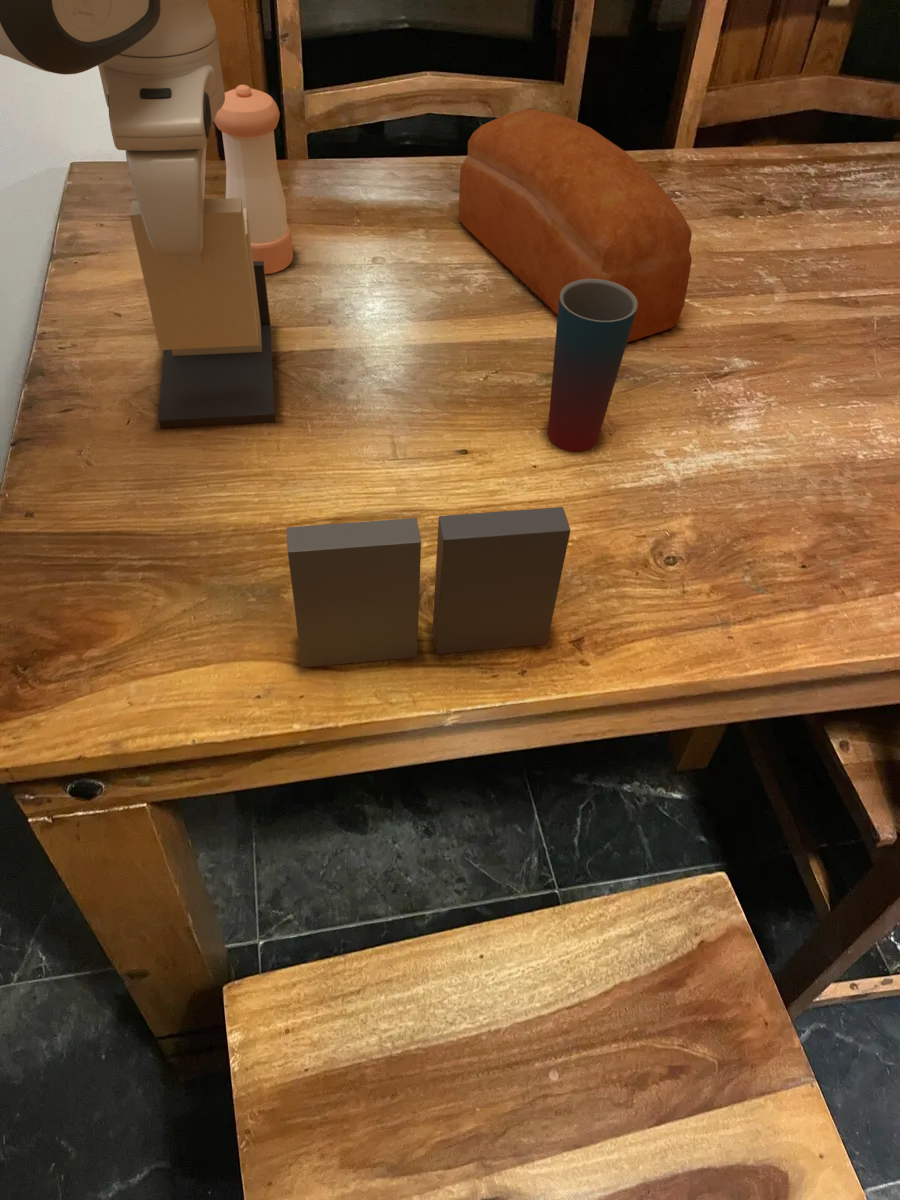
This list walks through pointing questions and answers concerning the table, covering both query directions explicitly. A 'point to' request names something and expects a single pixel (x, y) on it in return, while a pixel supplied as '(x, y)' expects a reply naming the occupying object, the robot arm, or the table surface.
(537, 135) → the bread
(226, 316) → the brown flat block
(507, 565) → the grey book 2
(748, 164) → the table surface
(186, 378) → the book rack
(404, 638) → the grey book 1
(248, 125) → the pepper shaker
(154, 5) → the robot arm
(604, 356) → the cup
